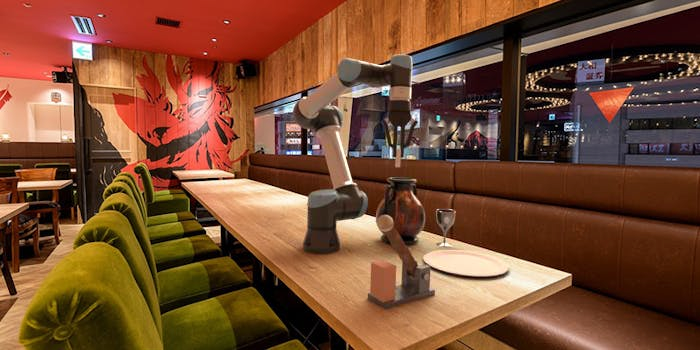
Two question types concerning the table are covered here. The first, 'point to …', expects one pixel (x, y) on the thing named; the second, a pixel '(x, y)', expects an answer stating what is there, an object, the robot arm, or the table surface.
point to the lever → (397, 242)
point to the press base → (409, 288)
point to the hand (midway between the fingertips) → (397, 166)
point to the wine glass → (445, 223)
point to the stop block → (383, 280)
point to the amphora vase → (402, 209)
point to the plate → (465, 263)
